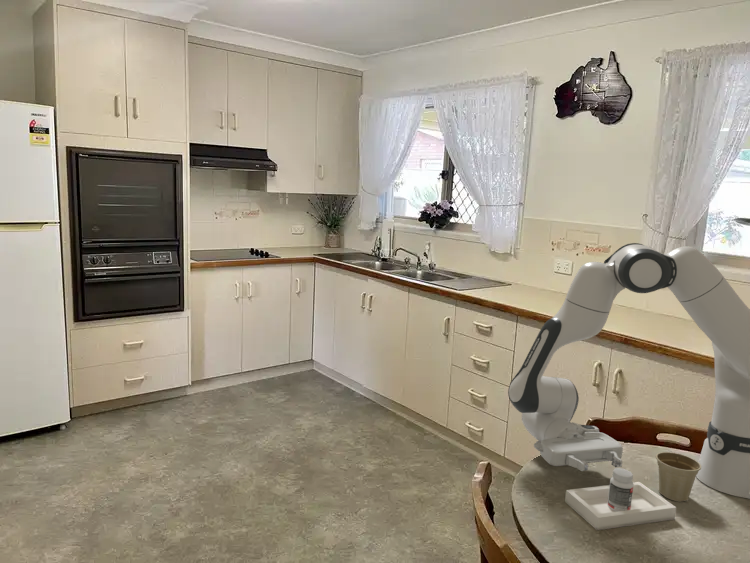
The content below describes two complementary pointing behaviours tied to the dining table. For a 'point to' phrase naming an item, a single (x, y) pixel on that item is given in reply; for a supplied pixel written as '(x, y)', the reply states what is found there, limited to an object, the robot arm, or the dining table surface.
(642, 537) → the dining table surface
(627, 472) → the pill bottle
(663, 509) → the tray
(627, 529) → the dining table surface
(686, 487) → the flower pot
